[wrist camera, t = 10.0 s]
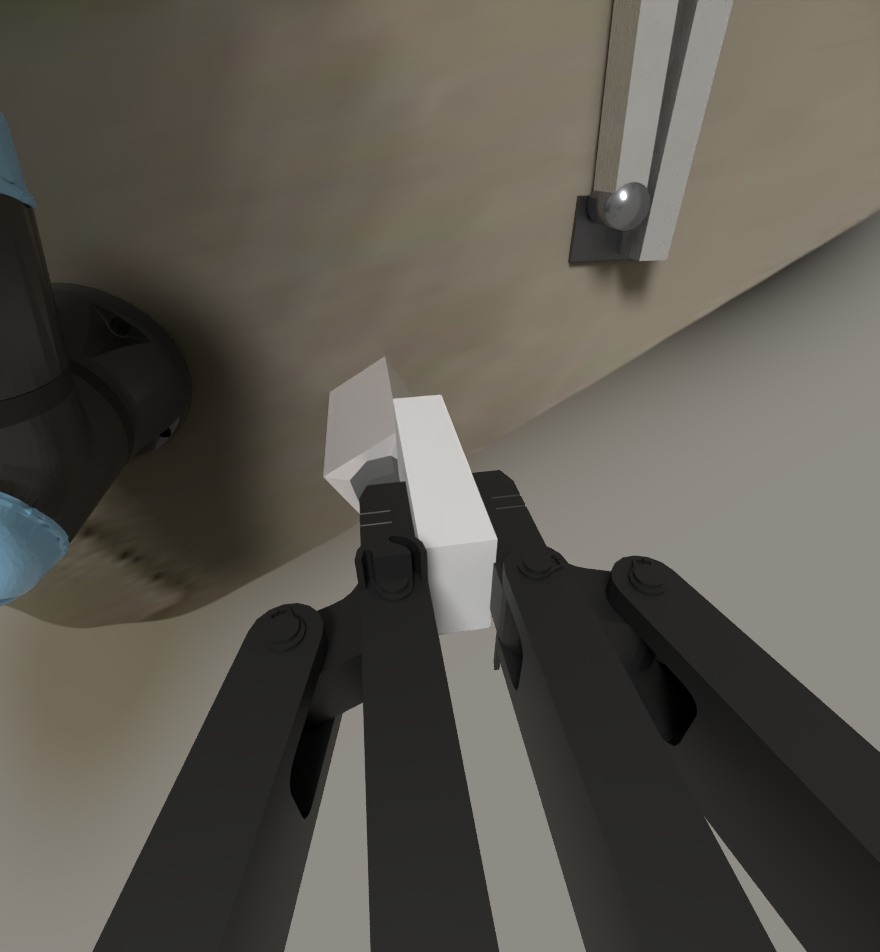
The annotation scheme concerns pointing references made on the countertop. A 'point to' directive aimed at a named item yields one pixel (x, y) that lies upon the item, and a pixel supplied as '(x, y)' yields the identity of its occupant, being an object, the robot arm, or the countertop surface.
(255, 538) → the countertop surface
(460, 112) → the countertop surface
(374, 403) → the soap dispenser
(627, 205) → the tongs hinged arm
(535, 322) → the countertop surface
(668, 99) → the tongs fixed arm
